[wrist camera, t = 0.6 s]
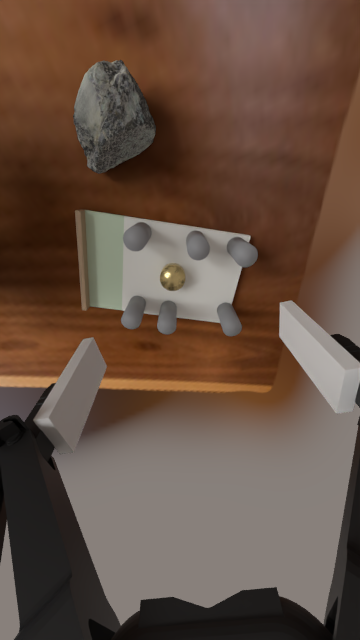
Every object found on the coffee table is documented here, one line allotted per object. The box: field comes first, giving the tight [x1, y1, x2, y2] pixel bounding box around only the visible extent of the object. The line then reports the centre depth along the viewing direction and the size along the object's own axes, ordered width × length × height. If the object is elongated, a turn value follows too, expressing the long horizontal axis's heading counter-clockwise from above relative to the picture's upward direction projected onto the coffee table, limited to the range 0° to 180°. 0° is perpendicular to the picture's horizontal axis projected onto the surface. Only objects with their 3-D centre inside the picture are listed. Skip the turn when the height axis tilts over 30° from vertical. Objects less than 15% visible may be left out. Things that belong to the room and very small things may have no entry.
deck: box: [75, 209, 258, 336], centre depth 39 cm, size 29×17×8 cm, turn 82°
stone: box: [73, 60, 156, 174], centre depth 29 cm, size 10×10×10 cm
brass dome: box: [160, 263, 185, 291], centre depth 40 cm, size 4×4×2 cm
